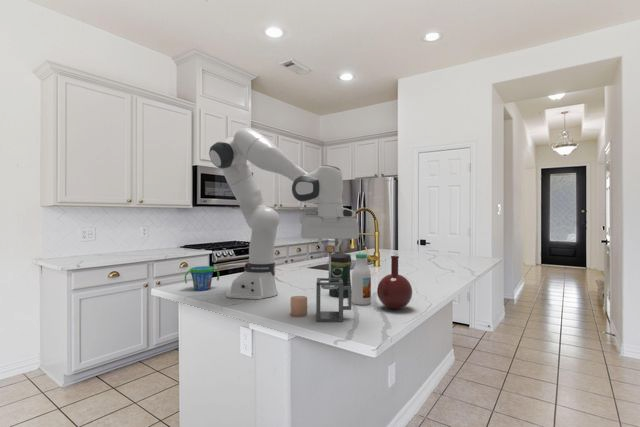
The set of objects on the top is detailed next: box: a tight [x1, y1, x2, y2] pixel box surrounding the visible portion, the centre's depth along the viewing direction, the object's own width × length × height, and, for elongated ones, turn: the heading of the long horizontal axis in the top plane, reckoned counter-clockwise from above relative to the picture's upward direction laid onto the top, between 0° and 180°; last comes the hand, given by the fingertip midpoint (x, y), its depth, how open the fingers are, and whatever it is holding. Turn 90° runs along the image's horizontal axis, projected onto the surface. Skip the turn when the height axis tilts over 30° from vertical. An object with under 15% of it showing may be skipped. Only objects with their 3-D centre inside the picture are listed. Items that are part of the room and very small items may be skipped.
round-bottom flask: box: [376, 255, 413, 310], centre depth 138 cm, size 13×13×20 cm
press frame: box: [315, 277, 352, 323], centre depth 125 cm, size 12×9×13 cm
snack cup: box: [184, 265, 220, 291], centre depth 170 cm, size 16×10×10 cm
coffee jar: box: [328, 252, 352, 298], centre depth 159 cm, size 10×8×19 cm
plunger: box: [320, 244, 338, 290], centre depth 125 cm, size 6×6×15 cm
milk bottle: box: [351, 252, 372, 306], centre depth 146 cm, size 8×8×20 cm
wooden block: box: [290, 295, 308, 318], centre depth 130 cm, size 6×6×6 cm
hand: (329, 251), depth 125 cm, fingers closed on plunger, 3 cm apart
